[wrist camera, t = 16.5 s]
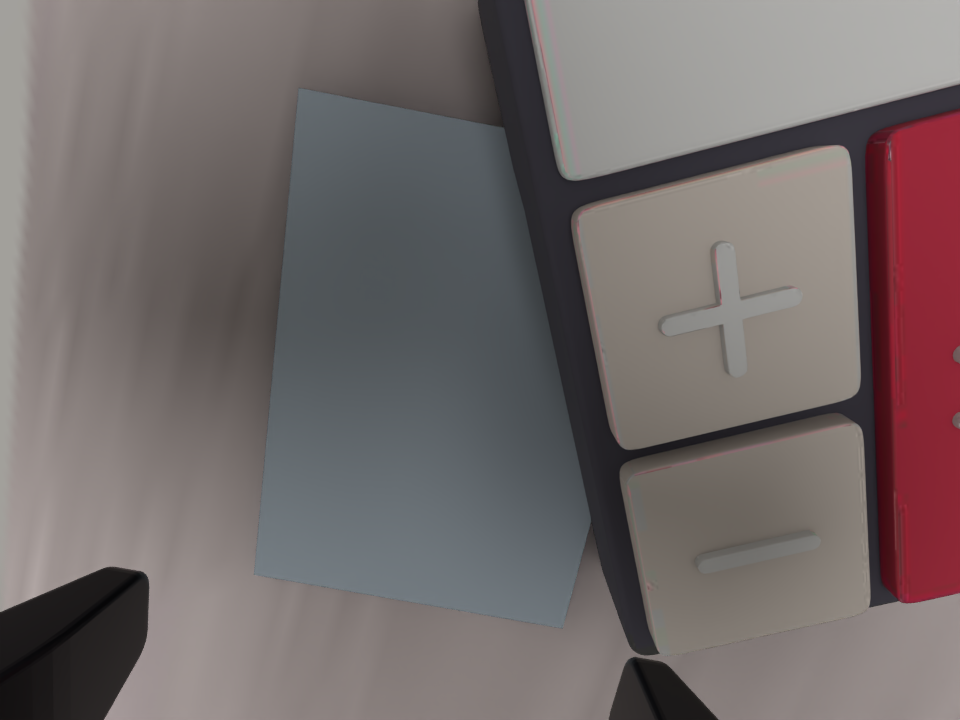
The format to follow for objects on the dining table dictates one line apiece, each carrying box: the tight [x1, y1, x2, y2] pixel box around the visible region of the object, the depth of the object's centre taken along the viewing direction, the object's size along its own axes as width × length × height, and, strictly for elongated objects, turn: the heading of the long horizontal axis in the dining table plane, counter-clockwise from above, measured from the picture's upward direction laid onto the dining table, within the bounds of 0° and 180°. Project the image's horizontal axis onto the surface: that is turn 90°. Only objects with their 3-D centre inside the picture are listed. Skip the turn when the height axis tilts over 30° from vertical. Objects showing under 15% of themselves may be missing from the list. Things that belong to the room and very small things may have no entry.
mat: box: [254, 88, 591, 629], centre depth 15 cm, size 9×13×1 cm
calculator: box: [478, 0, 960, 656], centre depth 12 cm, size 11×4×15 cm
